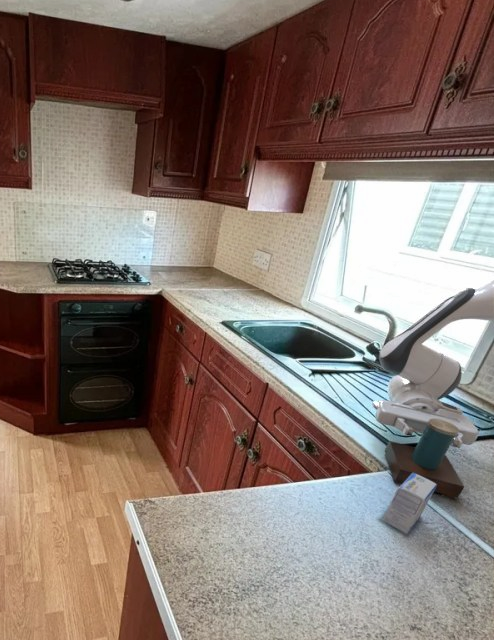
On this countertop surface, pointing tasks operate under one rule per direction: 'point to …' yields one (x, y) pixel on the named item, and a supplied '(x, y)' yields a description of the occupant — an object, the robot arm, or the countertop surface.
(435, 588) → the countertop surface
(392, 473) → the walnut platform
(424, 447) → the teal canister
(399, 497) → the medicine box
